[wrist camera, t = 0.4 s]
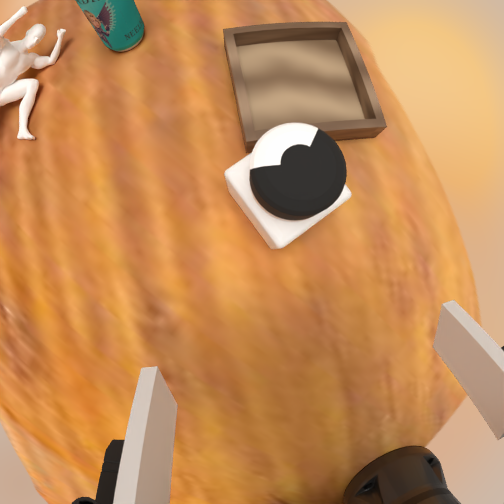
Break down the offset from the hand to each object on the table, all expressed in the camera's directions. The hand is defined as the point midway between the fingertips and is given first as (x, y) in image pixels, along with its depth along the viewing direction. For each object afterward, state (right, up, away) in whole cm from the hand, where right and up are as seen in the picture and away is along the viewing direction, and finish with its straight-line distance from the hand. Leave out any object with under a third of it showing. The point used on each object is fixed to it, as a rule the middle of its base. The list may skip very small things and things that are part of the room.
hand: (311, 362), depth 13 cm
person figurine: (-36, +28, +19) cm, 49 cm away
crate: (+3, +24, +19) cm, 31 cm away
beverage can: (-19, +33, +19) cm, 43 cm away
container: (0, +10, +20) cm, 22 cm away
